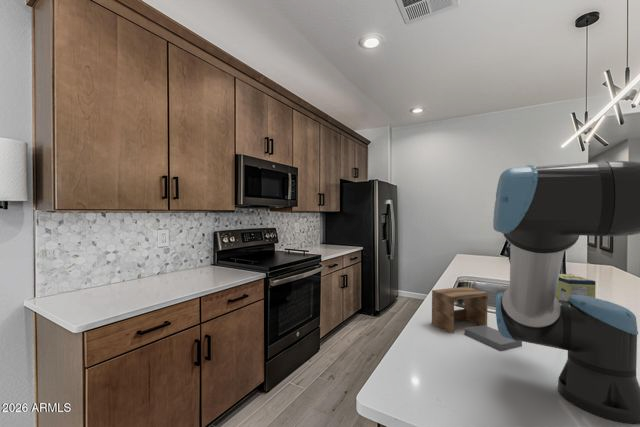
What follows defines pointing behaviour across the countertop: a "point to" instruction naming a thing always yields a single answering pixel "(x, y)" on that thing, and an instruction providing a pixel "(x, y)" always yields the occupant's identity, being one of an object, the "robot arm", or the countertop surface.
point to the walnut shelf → (472, 309)
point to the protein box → (574, 286)
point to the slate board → (491, 337)
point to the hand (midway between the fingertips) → (526, 302)
